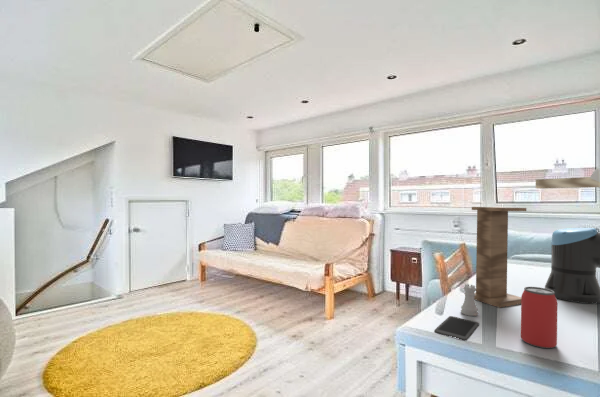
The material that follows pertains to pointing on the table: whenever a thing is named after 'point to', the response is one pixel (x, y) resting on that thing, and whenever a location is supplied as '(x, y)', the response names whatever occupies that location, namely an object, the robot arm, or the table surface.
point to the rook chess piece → (469, 301)
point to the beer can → (539, 317)
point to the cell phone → (457, 327)
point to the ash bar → (567, 183)
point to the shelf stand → (493, 256)
